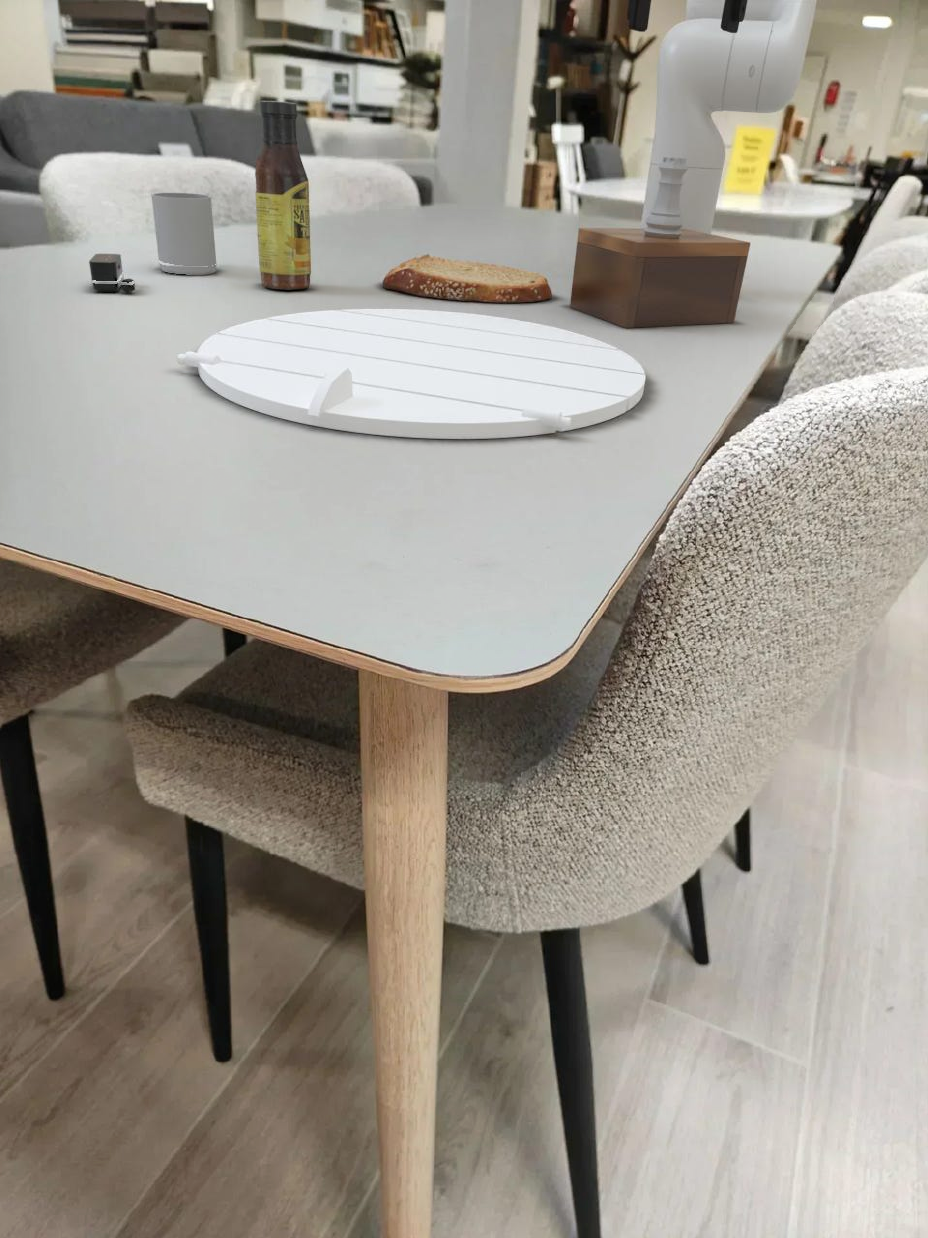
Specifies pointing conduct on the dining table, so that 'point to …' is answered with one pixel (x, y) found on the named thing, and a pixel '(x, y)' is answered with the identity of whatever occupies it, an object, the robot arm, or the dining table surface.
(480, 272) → the slice of bread
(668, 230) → the rook chess piece
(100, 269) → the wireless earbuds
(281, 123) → the sauce bottle
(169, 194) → the cup
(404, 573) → the dining table surface
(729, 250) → the wooden box
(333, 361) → the lazy susan
